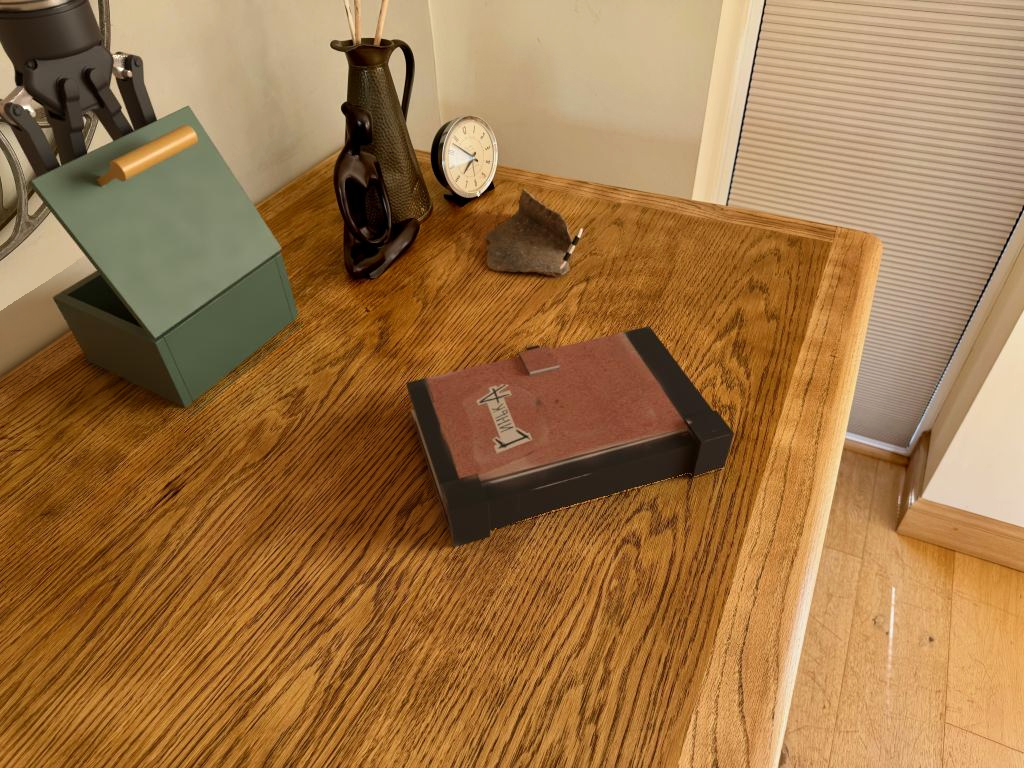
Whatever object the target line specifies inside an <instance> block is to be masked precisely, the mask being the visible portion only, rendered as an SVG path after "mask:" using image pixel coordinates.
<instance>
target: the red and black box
mask: <svg viewBox="0 0 1024 768" xmlns="http://www.w3.org/2000/svg"><path fill="white" fill-rule="evenodd" d="M405 384H406V389H407V392H408V395H409V398H410V401H411V404H412V407H413V408H412V409H410V415H411V419H412V421H413V424H414V427H415V430H416V433H417V437H418V439H419V443H420V447H421V449H422V453H423V455H424V458H425V462H426V464H427V467H428V471H429V474H430V477H431V480H432V482H433V483H432V484H433V486H434V489H435V492H436V495H437V498H438V502H439V505H440V507H441V511H442V514H443V517H444V520H445V523H446V526H447V529H448V532H449V536H450V539H451V542H452V545H453V548H456V547H459V545H460V546H463V545H467V544H470V543H473V542H472V541H474V542H477V541H480V539H481V540H483V538H484V539H486V538H485V537H488V538H490V537H491V531H490V530H492V531H494V530H493V529H495V528H499V529H501V528H500V527H503V526H506V527H508V526H507V525H509V524H512V523H516V522H518V521H522V520H525V519H527V518H531V517H534V516H538V515H540V514H541V515H542V514H544V513H546V512H550V511H552V510H556V509H560V508H562V507H568V506H570V505H574V504H577V503H581V502H585V501H588V500H592V499H596V498H599V497H603V496H608V495H611V494H614V493H618V492H621V491H624V490H628V489H631V488H634V487H639V486H642V485H647V484H650V483H654V482H657V481H661V480H665V479H668V478H672V477H677V476H679V475H682V474H683V475H684V474H685V473H686V474H687V473H691V474H692V476H693V477H694V476H697V475H700V474H703V473H706V472H708V471H709V472H710V471H712V470H715V469H719V468H723V467H724V468H726V463H727V460H728V456H729V452H730V449H731V446H732V442H733V439H734V435H735V432H734V431H733V430H732V429H731V427H730V426H729V425H728V423H727V422H726V421H725V419H724V418H723V417H722V415H721V414H720V412H719V411H718V410H717V409H715V410H713V408H712V407H711V406H710V404H709V403H708V402H707V400H706V398H705V397H704V396H703V395H702V393H701V392H700V391H699V390H698V389H697V387H696V385H695V384H694V383H693V382H692V380H691V379H690V378H689V376H688V375H687V373H685V371H684V370H683V369H682V367H681V366H680V365H679V363H678V362H677V360H676V359H675V358H674V356H673V355H672V354H671V352H670V351H669V350H668V349H667V347H666V346H665V345H664V343H663V342H662V341H661V339H660V338H659V336H658V335H657V334H656V332H655V331H654V330H653V329H652V327H651V326H650V325H648V326H643V327H640V328H635V329H631V330H626V331H623V332H618V333H613V334H609V335H605V336H601V337H597V338H592V339H587V340H583V341H579V342H575V343H571V344H568V345H562V346H559V347H558V346H557V347H554V348H551V347H550V346H549V345H547V346H542V347H541V346H540V345H539V344H536V345H533V346H532V345H531V346H528V347H526V349H525V351H521V352H519V356H515V357H510V358H506V359H502V360H498V361H493V362H489V363H485V364H481V365H476V366H472V367H468V368H463V369H459V370H454V371H451V372H450V371H449V372H447V373H441V374H438V375H434V376H429V377H425V378H421V379H416V380H411V381H407V382H406V383H405ZM503 528H504V527H503ZM476 540H477V541H476Z"/></svg>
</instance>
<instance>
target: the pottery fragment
mask: <svg viewBox="0 0 1024 768" xmlns="http://www.w3.org/2000/svg"><path fill="white" fill-rule="evenodd" d="M583 231H584V228H581V227H580V229H579V230H578V231H577V233H576V234H575V236H574V237H573V239H572V236H571V232H570V230H569V225H568V224H567V221H565V220H564V217H563V214H562V213H561V212H558V211H555V210H553V209H551V208H549V207H548V206H547V205H545V204H544V203H542V202H541V201H540V200H538V199H536V198H535V197H534V196H533V195H532V193H530V192H529V191H527V189H526V188H522V190H521V193H520V195H519V200H518V209H517V211H516V212H515V213H514V214H513V215H512V216H510V217H509V218H507V219H506V221H505V222H503V223H501V224H499V225H498V226H495V228H493V230H492V231H489V232H487V233H486V235H485V240H486V241H487V242H489V245H487V246H486V247H485V250H486V251H487V254H486V256H487V258H486V266H487V267H488V269H490V270H491V271H494V272H498V273H499V272H512V273H516V272H522V273H538V274H543V275H548V276H552V277H557V278H559V277H563V276H564V275H566V273H568V272H570V271H571V267H570V266H569V265H570V262H569V259H570V258H571V257H572V254H573V252H574V250H575V248H576V247H577V245H578V242H579V240H580V239H581V237H582V234H583Z"/></svg>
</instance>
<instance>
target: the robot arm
mask: <svg viewBox="0 0 1024 768" xmlns="http://www.w3.org/2000/svg"><path fill="white" fill-rule="evenodd" d="M0 45H1V47H2V50H3V51H4V53H5V55H6V56H7V58H8V59H9V61H10V62H11V64H12V66H13V70H14V83H15V86H16V87H15V88H14V89H13V90H12V91H10V93H9V94H7V96H5V98H3V99H2V98H0V119H2V121H4V122H5V123H6V125H8V126H9V127H10V130H11V131H12V133H13V135H14V137H15V138H16V141H17V143H18V144H19V146H20V148H21V150H22V152H23V154H24V156H25V157H26V159H27V161H28V163H29V165H30V167H31V168H32V171H33V173H34V175H35V177H38V176H41V175H43V174H45V173H47V172H49V171H51V170H53V169H55V168H57V167H60V166H62V165H64V164H66V163H68V162H70V161H72V160H74V159H76V158H79V157H81V156H83V155H85V154H87V153H88V150H87V146H86V141H85V136H84V130H85V127H86V126H85V120H84V116H85V115H86V114H88V112H90V111H91V112H92V113H93V114H94V115H95V116H96V118H97V119H98V121H99V122H100V123H101V125H102V127H103V128H104V130H105V131H106V133H107V134H108V135H109V137H110V139H111V141H114V140H117V139H119V138H121V137H123V136H125V135H127V134H129V133H131V132H133V131H135V130H138V129H140V128H142V127H144V126H146V125H148V124H150V123H152V122H154V121H157V120H158V119H157V116H156V112H155V109H154V106H153V104H152V101H151V97H150V95H149V93H148V89H147V86H146V84H145V75H144V61H143V59H142V57H141V56H139V55H135V54H132V53H129V52H123V51H116V52H115V53H112V52H111V51H110V49H108V48H107V47H106V46H105V44H104V43H103V41H102V31H101V29H100V27H99V23H98V21H97V18H96V16H95V13H94V11H93V7H92V5H91V3H90V0H0ZM112 76H114V77H115V82H116V85H117V89H118V91H119V93H120V94H119V95H120V97H121V99H122V102H123V104H124V107H125V110H126V112H127V115H128V118H129V120H130V121H129V120H128V119H127V117H126V116H125V114H124V112H123V111H122V109H123V107H122V104H121V103H120V101H119V100H118V98H117V97H116V95H115V94H114V92H113V90H112V89H111V83H112ZM32 100H33V101H34V102H35V103H37V104H38V105H40V106H42V107H43V111H44V113H45V118H46V121H47V123H48V125H49V126H50V127H51V129H52V134H53V137H54V143H55V146H56V150H57V154H58V155H57V156H58V158H57V156H56V154H55V152H54V150H53V148H52V146H51V144H50V142H49V140H48V138H47V136H46V134H45V131H44V129H42V127H41V125H40V124H39V123H38V122H37V120H36V119H35V118H36V117H37V111H35V109H34V107H33V106H32ZM58 159H59V160H58Z"/></svg>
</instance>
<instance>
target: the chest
mask: <svg viewBox="0 0 1024 768" xmlns="http://www.w3.org/2000/svg"><path fill="white" fill-rule="evenodd" d="M52 299H53V301H54V303H55V304H56V307H57V308H58V310H59V312H60V314H61V315H62V318H63V319H64V320H65V323H66V324H67V326H68V328H69V329H70V331H71V333H72V335H73V337H74V338H75V340H76V343H77V344H78V346H79V347H80V349H81V351H82V353H83V355H84V356H85V358H86V360H87V362H89V363H91V364H93V365H96V366H97V367H99V368H101V369H103V370H106V371H108V372H109V373H111V374H114V375H116V376H118V377H120V378H122V379H124V380H127V381H129V382H130V383H132V384H135V385H137V386H138V387H141V388H143V389H145V390H147V391H149V392H150V393H154V394H155V395H157V396H160V397H162V398H164V399H165V400H168V401H170V402H172V403H174V404H176V405H178V406H180V407H183V408H184V409H185V408H187V407H189V406H190V405H191V404H192V403H193V402H195V401H196V400H197V399H199V398H200V397H201V396H202V395H204V394H205V393H206V392H207V391H208V390H210V389H211V388H212V387H213V386H214V385H216V384H218V382H220V381H221V380H222V379H223V378H224V377H226V376H227V375H228V374H229V373H231V372H232V371H233V370H234V369H235V368H236V367H238V366H240V365H241V364H242V363H243V362H244V361H245V360H246V359H248V358H249V357H250V356H251V355H253V354H254V353H255V352H257V351H258V350H259V349H260V348H262V347H263V346H264V345H265V344H266V343H268V342H269V341H270V340H271V339H272V338H274V337H275V336H276V335H278V334H279V333H280V332H281V331H283V330H284V329H285V328H287V326H289V325H290V324H291V323H292V322H294V321H295V320H296V319H297V318H298V317H299V311H298V309H297V304H296V301H295V297H294V294H293V291H292V285H291V283H290V279H289V276H288V272H287V268H286V265H285V262H284V257H283V254H282V253H281V252H280V251H278V252H277V253H276V254H274V255H273V256H271V257H270V258H268V259H267V260H266V261H264V262H263V263H261V264H260V265H259V266H257V267H256V268H254V269H253V270H252V271H250V272H249V273H247V274H246V275H245V276H243V277H242V278H240V279H239V280H237V281H236V282H235V283H233V284H232V285H230V286H229V287H228V288H226V289H225V290H223V291H222V292H221V293H219V294H218V295H216V296H215V297H214V298H212V299H211V300H209V301H208V302H206V303H205V304H204V305H202V306H201V307H199V308H198V309H197V310H195V311H194V312H192V313H191V314H190V315H188V316H187V317H185V318H184V319H182V320H181V321H180V322H178V323H177V324H175V325H174V326H173V327H171V328H170V329H168V330H167V331H166V332H164V333H163V334H161V335H160V336H159V337H157V338H156V339H151V338H150V337H149V335H148V334H147V333H146V332H145V330H144V329H143V328H142V327H141V325H140V324H139V323H138V321H137V320H136V319H135V318H134V316H133V315H132V314H131V313H130V311H129V310H128V309H127V308H126V306H125V305H124V304H123V302H122V301H121V300H120V299H119V297H118V296H117V295H116V294H115V292H114V291H113V290H112V289H111V287H110V286H109V285H108V283H107V282H106V281H105V280H104V278H103V277H102V276H101V275H100V273H99V272H98V271H97V270H95V271H93V272H92V273H91V274H88V275H87V276H85V277H84V278H82V279H81V280H79V281H77V282H75V283H74V284H72V285H70V286H69V287H66V288H65V289H64V290H62V291H60V292H59V293H57V294H55V295H54V296H52ZM300 327H302V324H300V325H298V326H297V327H296V328H295V329H293V330H292V331H291V332H290V333H288V334H287V335H286V336H285V337H283V339H281V340H280V341H279V342H277V344H275V345H274V346H273V347H272V348H271V349H269V350H268V351H267V352H266V353H264V354H263V355H262V356H260V358H258V359H257V360H255V361H254V362H253V363H252V364H251V365H250V366H249V367H247V368H246V369H245V370H244V371H243V372H241V373H240V374H238V376H236V377H235V378H234V379H233V380H231V381H230V382H229V383H228V384H227V385H225V386H224V387H223V388H222V389H221V390H220V391H218V392H217V393H216V394H214V395H213V396H212V397H211V398H209V399H208V400H207V401H206V402H205V403H204V404H203V405H201V406H200V407H199V408H197V409H196V410H195V411H194V412H193V413H191V414H190V415H189V416H188V418H191V417H193V416H194V415H195V414H196V413H197V412H198V411H200V410H201V409H202V408H203V407H205V406H206V405H208V403H210V402H211V401H212V400H213V399H215V397H217V396H218V395H219V394H221V393H222V392H223V391H224V390H225V389H226V388H228V387H229V386H230V385H231V384H232V383H234V382H235V381H236V380H237V379H238V378H240V377H241V376H242V375H243V374H245V373H246V372H247V371H248V370H249V369H251V368H253V366H254V365H255V364H257V363H258V362H259V361H260V360H262V359H263V358H264V357H265V356H266V355H268V354H269V353H270V352H271V351H273V350H274V349H275V348H276V347H277V346H279V345H280V344H281V343H282V342H284V340H286V339H287V338H288V337H289V336H291V335H292V334H293V333H294V332H295V331H297V330H298V329H299V328H300Z"/></svg>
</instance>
